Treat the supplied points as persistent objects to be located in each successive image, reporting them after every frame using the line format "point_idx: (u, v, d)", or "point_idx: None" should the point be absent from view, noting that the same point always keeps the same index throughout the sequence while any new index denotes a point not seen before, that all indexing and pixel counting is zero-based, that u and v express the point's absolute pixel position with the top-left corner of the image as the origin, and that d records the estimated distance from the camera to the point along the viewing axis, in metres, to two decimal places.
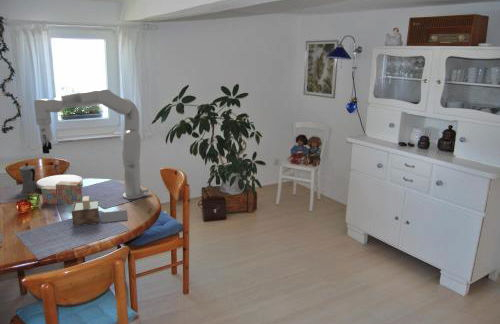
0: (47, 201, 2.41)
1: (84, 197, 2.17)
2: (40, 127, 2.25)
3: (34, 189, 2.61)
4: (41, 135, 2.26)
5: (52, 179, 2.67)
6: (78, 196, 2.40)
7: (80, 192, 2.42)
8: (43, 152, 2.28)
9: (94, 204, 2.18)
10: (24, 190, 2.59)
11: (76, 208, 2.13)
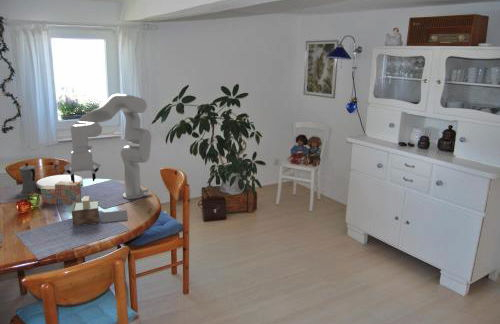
0: (46, 201, 2.41)
1: (84, 197, 2.17)
2: (90, 154, 2.09)
3: (34, 189, 2.61)
4: (92, 162, 2.11)
5: (52, 179, 2.67)
6: (77, 196, 2.40)
7: (79, 192, 2.42)
8: None
9: (94, 204, 2.18)
10: (24, 190, 2.59)
11: (76, 208, 2.13)
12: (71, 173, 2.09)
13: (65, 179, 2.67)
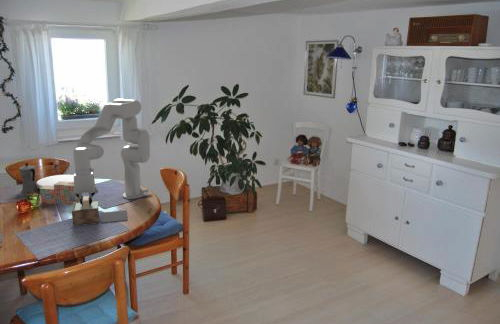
0: (45, 201, 2.41)
1: (84, 197, 2.17)
2: (92, 176, 2.12)
3: (34, 189, 2.61)
4: (94, 184, 2.14)
5: (52, 179, 2.67)
6: (76, 196, 2.39)
7: None
8: (90, 204, 2.16)
9: (94, 204, 2.18)
10: (24, 190, 2.59)
11: (76, 208, 2.13)
12: (80, 197, 2.13)
13: (65, 179, 2.67)
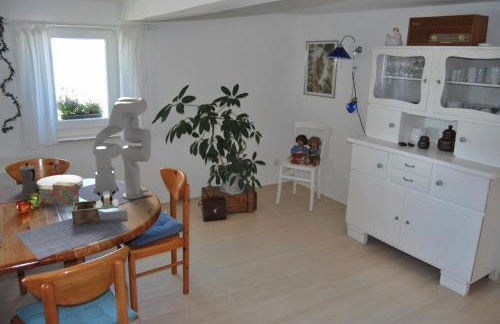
0: (44, 201, 2.41)
1: (105, 195, 2.20)
2: (113, 175, 2.16)
3: (34, 189, 2.61)
4: (115, 182, 2.17)
5: (52, 179, 2.67)
6: (75, 197, 2.39)
7: (77, 193, 2.40)
8: None
9: (114, 202, 2.22)
10: (24, 190, 2.59)
11: (97, 206, 2.16)
12: (101, 195, 2.16)
13: (65, 179, 2.67)
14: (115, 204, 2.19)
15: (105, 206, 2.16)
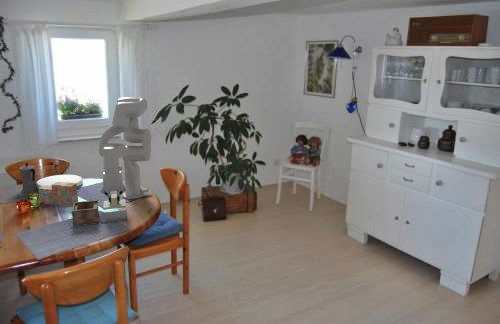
0: (44, 201, 2.41)
1: (112, 195, 2.21)
2: (120, 174, 2.17)
3: (34, 189, 2.61)
4: (122, 182, 2.18)
5: (52, 179, 2.67)
6: (73, 197, 2.38)
7: (76, 193, 2.40)
8: (118, 202, 2.20)
9: (122, 202, 2.23)
10: (24, 190, 2.59)
11: (105, 206, 2.17)
12: (108, 195, 2.17)
13: (65, 179, 2.67)
14: (122, 204, 2.20)
15: (112, 206, 2.17)
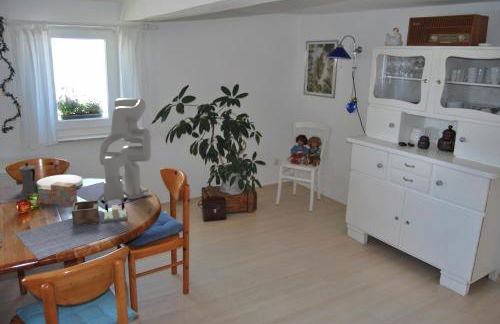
0: (43, 201, 2.41)
1: (113, 206, 2.23)
2: (121, 183, 2.18)
3: (34, 189, 2.61)
4: (123, 191, 2.19)
5: (52, 179, 2.67)
6: (72, 197, 2.38)
7: (75, 193, 2.39)
8: None
9: (123, 213, 2.24)
10: (24, 190, 2.59)
11: (106, 217, 2.19)
12: (105, 203, 2.18)
13: (65, 179, 2.67)
14: (123, 215, 2.21)
15: (113, 217, 2.18)
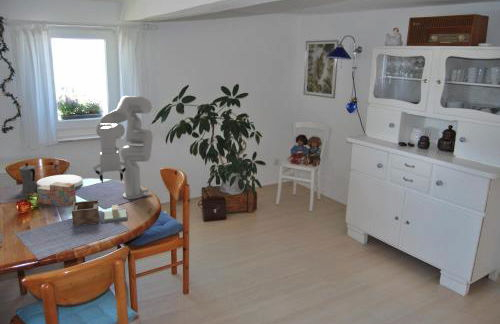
0: (42, 201, 2.41)
1: (113, 206, 2.23)
2: (118, 155, 2.17)
3: (34, 189, 2.61)
4: (119, 162, 2.18)
5: (52, 179, 2.67)
6: (71, 198, 2.37)
7: (73, 194, 2.39)
8: (121, 179, 2.21)
9: (123, 213, 2.24)
10: (24, 190, 2.59)
11: (106, 217, 2.19)
12: (100, 173, 2.17)
13: (65, 179, 2.67)
14: (123, 215, 2.21)
15: (113, 217, 2.18)
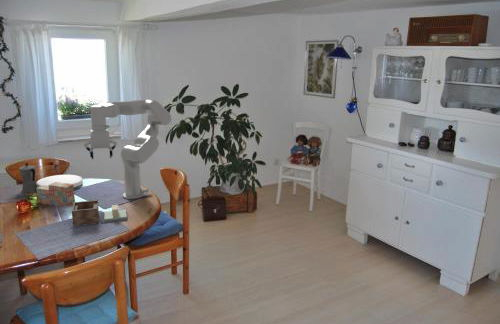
0: (41, 201, 2.41)
1: (113, 206, 2.23)
2: (107, 132, 2.28)
3: (34, 189, 2.61)
4: (109, 140, 2.29)
5: (52, 179, 2.67)
6: (70, 198, 2.37)
7: (72, 194, 2.38)
8: None
9: (123, 213, 2.24)
10: (24, 190, 2.59)
11: (106, 217, 2.19)
12: (90, 150, 2.28)
13: (65, 179, 2.67)
14: (123, 215, 2.21)
15: (113, 217, 2.18)
